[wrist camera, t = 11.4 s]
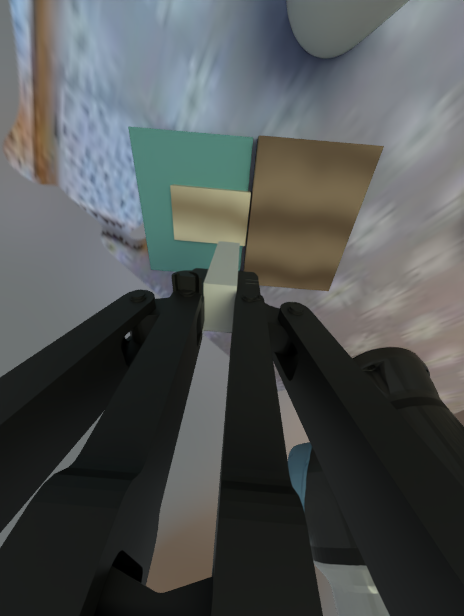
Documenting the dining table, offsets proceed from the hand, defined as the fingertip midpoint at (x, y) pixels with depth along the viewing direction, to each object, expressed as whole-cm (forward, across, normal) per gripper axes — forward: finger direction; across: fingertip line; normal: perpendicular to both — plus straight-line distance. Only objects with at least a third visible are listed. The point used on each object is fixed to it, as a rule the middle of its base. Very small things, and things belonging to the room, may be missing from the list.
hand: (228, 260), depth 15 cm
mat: (+14, +5, 0) cm, 15 cm away
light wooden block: (+13, +3, -1) cm, 14 cm away
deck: (+14, -8, 0) cm, 16 cm away
